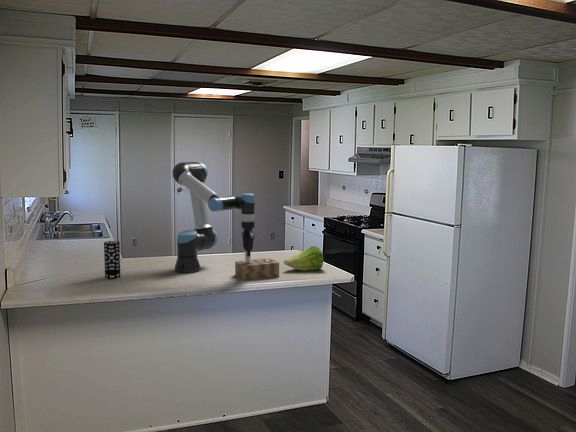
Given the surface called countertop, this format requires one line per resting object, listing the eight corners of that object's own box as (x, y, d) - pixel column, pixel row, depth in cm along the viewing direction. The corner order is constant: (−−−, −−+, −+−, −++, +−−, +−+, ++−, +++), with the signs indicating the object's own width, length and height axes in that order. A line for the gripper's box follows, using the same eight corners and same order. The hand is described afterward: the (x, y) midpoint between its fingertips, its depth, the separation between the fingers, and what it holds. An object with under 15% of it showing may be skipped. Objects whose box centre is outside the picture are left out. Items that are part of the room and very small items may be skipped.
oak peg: (245, 276, 305) (245, 263, 303) (242, 275, 308) (242, 261, 307) (252, 276, 307) (252, 262, 305) (249, 274, 310) (249, 260, 309)
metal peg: (264, 274, 310) (264, 261, 309) (261, 273, 314) (261, 259, 313) (271, 274, 312) (271, 260, 311) (268, 272, 316) (268, 259, 315)
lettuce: (289, 276, 314) (280, 272, 328) (326, 270, 324) (316, 266, 338) (287, 252, 313) (278, 249, 327) (324, 246, 322) (314, 243, 336)
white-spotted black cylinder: (111, 280, 295) (110, 244, 292) (101, 277, 299) (100, 242, 296) (123, 277, 302) (122, 242, 299) (113, 274, 306) (112, 240, 303)
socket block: (243, 280, 300) (243, 266, 298) (235, 274, 311) (235, 261, 310) (279, 276, 310) (279, 262, 308) (269, 271, 321) (269, 258, 320)
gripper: (258, 222, 299) (258, 263, 302) (249, 219, 310) (249, 258, 314) (246, 222, 296) (246, 264, 299) (237, 219, 307) (237, 259, 310)
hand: (247, 261), depth 306 cm, fingers closed
